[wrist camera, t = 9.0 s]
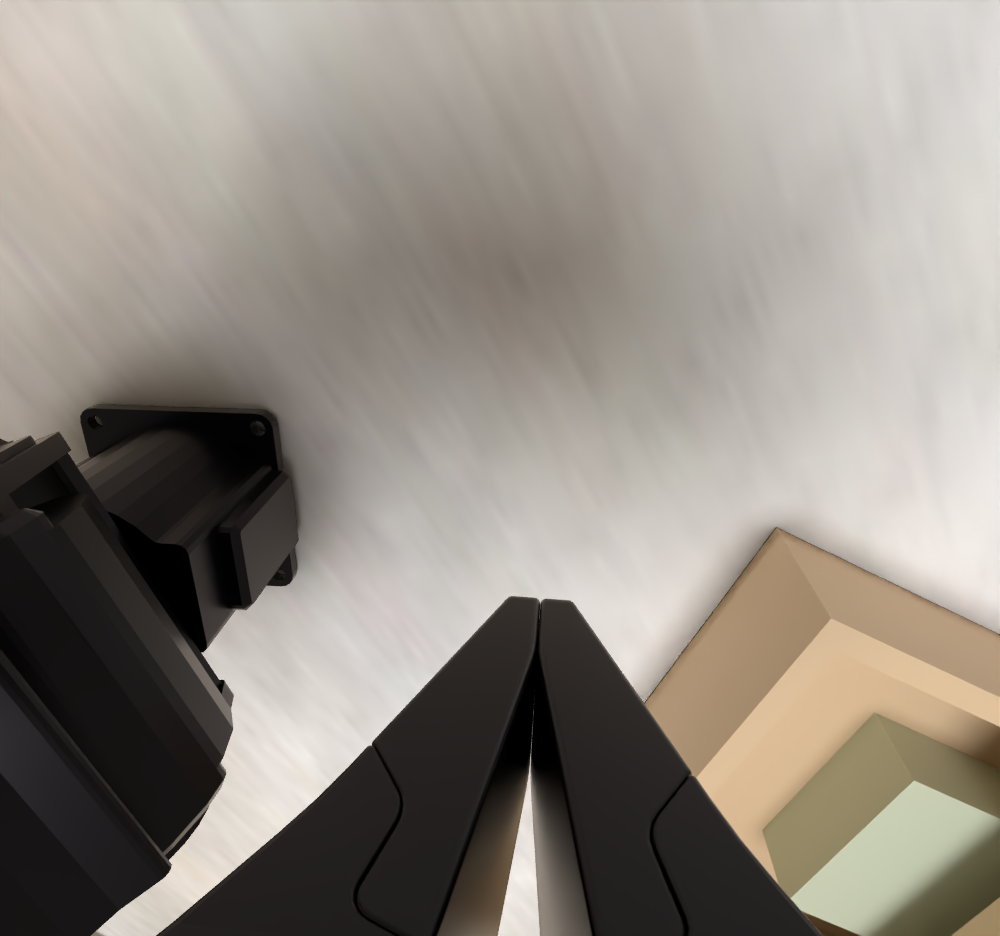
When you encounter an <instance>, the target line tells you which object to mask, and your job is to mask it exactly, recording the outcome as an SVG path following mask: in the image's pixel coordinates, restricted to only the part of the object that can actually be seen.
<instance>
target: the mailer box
mask: <svg viewBox="0 0 1000 936" xmlns="http://www.w3.org/2000/svg"><path fill="white" fill-rule="evenodd" d="M645 706H646V707H647V708H648V710H649V711H650V713H651V714H652V716H653V717H654V718H655V720H656V721H657V723H658V724H659V726H660V727H661V728H662V730H663V731H664V733H665V734H666V736H667V737H668V738H669V740H670V741H671V743H672V744H673V746H674V747H675V748H676V750H677V751H678V753H679V754H680V756H681V757H682V758H683V760H684V761H685V763H686V764H687V766H688V767H689V768H690V770H691V772H692V776H695V777H696V778H697V779H698V781H699V782H700V784H701V785H702V787H703V788H704V790H705V791H706V792H707V794H708V795H709V797H710V798H711V800H712V801H713V802H714V804H715V805H716V806H717V808H718V809H719V810H720V812H721V813H722V815H723V816H724V817H725V819H726V820H727V821H728V823H729V824H730V825H731V827H732V828H733V829H734V831H735V832H736V833H737V835H738V836H739V837H740V839H741V840H742V841H743V842H744V844H745V845H746V846H747V847H748V848H749V850H750V851H751V852H752V853H753V854H754V856H755V857H756V858H757V859H758V860H759V862H760V863H761V864H762V865H763V867H764V868H765V869H766V870H767V871H768V873H769V874H770V875H771V876H772V877H773V879H774V880H775V881H776V882H777V883H778V885H779V886H780V887H781V888H782V889H783V890H784V891H785V893H786V894H787V895H788V896H789V897H790V898H791V899H792V901H793V902H794V903H795V904H796V905H797V906H798V908H799V909H800V910H801V911H802V912H803V913H804V914H805V916H806V917H807V918H808V919H809V920H810V921H811V922H812V924H813V925H814V926H815V927H816V928H817V929H818V930H819V932H820V933H821V934H822V935H823V936H951V935H953V934H954V933H955V932H957V931H958V930H959V929H960V928H962V927H963V926H964V925H965V924H967V923H968V922H969V921H970V920H972V919H973V918H974V917H975V916H977V915H978V914H979V913H980V912H982V911H983V910H984V909H985V908H987V907H988V906H989V905H990V904H992V903H993V902H994V901H996V900H997V899H998V898H999V897H1000V635H999V634H997V633H995V632H993V631H991V630H989V629H986V628H984V627H982V626H980V625H978V624H976V623H974V622H972V621H970V620H968V619H966V618H964V617H961V616H959V615H957V614H955V613H953V612H951V611H949V610H947V609H945V608H943V607H941V606H939V605H936V604H934V603H932V602H930V601H928V600H926V599H924V598H922V597H920V596H918V595H916V594H914V593H911V592H909V591H907V590H905V589H903V588H901V587H899V586H897V585H895V584H893V583H891V582H889V581H886V580H884V579H882V578H880V577H878V576H876V575H874V574H872V573H870V572H868V571H866V570H864V569H861V568H859V567H857V566H855V565H853V564H851V563H849V562H847V561H845V560H843V559H841V558H839V557H836V556H834V555H832V554H830V553H828V552H826V551H824V550H822V549H820V548H818V547H816V546H814V545H811V544H809V543H807V542H805V541H803V540H801V539H799V538H797V537H795V536H793V535H791V534H789V533H786V532H784V531H782V530H780V529H778V528H776V529H775V530H774V531H773V533H772V534H771V535H770V537H769V538H768V539H767V541H766V542H765V543H764V545H763V546H762V547H761V549H760V550H759V551H758V553H757V554H756V555H755V557H754V558H753V559H752V561H751V562H750V563H749V565H748V566H747V567H746V569H745V570H744V571H743V573H742V574H741V575H740V577H739V578H738V579H737V581H736V582H735V583H734V585H733V586H732V587H731V589H730V590H729V592H728V593H727V594H726V596H725V597H724V598H723V600H722V601H721V602H720V604H719V605H718V606H717V608H716V609H715V610H714V612H713V613H712V614H711V616H710V617H709V618H708V620H707V621H706V622H705V624H704V625H703V626H702V628H701V629H700V630H699V632H698V633H697V634H696V636H695V637H694V638H693V640H692V641H691V642H690V644H689V645H688V646H687V648H686V649H685V650H684V652H683V653H682V654H681V656H680V657H679V658H678V660H677V661H676V662H675V664H674V665H673V666H672V668H671V669H670V670H669V672H668V673H667V674H666V676H665V677H664V678H663V680H662V681H661V682H660V684H659V685H658V686H657V688H656V689H655V690H654V692H653V693H652V694H651V696H650V697H649V698H648V700H647V701H646V702H645Z"/></svg>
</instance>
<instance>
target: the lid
mask: <svg viewBox="0 0 1000 936" xmlns="http://www.w3.org/2000/svg"><path fill="white" fill-rule="evenodd" d="M951 936H1000V897H999V898H998V899H997V900H996V901H994V902H993V903H992V904H990V905H989V906H988V907H987V908H985V909H984V910H983V911H982V912H980V913H979V914H978V915H977V916H975V917H974V918H973V919H972V920H970V921H969V922H968V923H967V924H965V925H964V926H963V927H962V928H960V929H959V930H958V931H957V932H955V933H954V934H953V935H951Z"/></svg>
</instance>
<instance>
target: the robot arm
mask: <svg viewBox="0 0 1000 936" xmlns="http://www.w3.org/2000/svg"><path fill="white" fill-rule="evenodd" d="M95 416H97V417H99V418H100V419H101V421H102V423H103V426H102V425H100V424H99V423H97V421H96V419H95ZM80 419H81V426H82V430H83V433H84V437H85V441H86V445H87V449H88V453H89V458H88V459H86V460H84V461H83V462H81V463H79V464H78V465H76V464H75V463H74V461H73V460H72V458H71V457H70V455H69V454H68V452H69V451H71V449H70V447H69V446H68V444H67V443H66V441H65V440H64V438H63V437H62V435H61V434H60V432H56V433H53V434H51V435H48V436H46V437H43V438H41V439H38V440H36V441H34V440H33V438H32V437H31V435H30V436H27V437H25V438H22V439H19V440H17V441H14V442H13V441H10V442H7V441H4V440H2V439H0V936H91V935H92V934H93V933H94V932H95V931H96V930H98V929H99V928H100V927H101V926H102V925H103V924H104V923H105V922H106V921H108V920H109V919H110V918H111V917H112V916H113V915H114V914H115V913H116V912H118V911H119V910H120V909H121V908H123V907H124V906H126V905H127V904H128V903H130V902H131V901H133V900H134V899H135V898H137V897H138V896H139V895H141V894H142V893H144V892H145V891H146V890H148V889H149V888H151V887H152V886H153V885H155V884H156V883H158V882H159V881H160V880H162V879H163V878H164V877H165V876H166V875H167V874H168V873H169V871H170V869H171V865H172V864H171V863H170V862H169V859H170V858H171V857H172V856H173V855H174V854H175V853H176V852H177V851H178V850H179V849H180V848H181V847H182V846H183V845H184V844H185V842H186V841H187V840H188V838H189V837H190V836H191V834H192V833H193V832H194V830H195V829H196V828H197V827H198V825H199V824H200V822H201V820H202V818H203V816H204V815H205V813H206V811H207V809H208V807H209V805H210V803H211V802H212V800H213V799H214V797H215V796H216V794H217V793H218V791H219V790H220V788H221V787H222V784H223V781H224V778H225V776H226V770H225V769H224V767H223V766H222V764H221V763H220V762H221V760H222V759H223V756H224V754H225V751H226V748H227V745H228V742H229V739H230V736H231V734H232V731H233V722H232V713H231V706H232V701H233V697H234V695H233V693H232V692H231V690H230V689H229V687H228V685H227V684H226V682H225V681H224V680H219V679H218V677H217V676H216V674H215V673H214V671H213V670H212V668H211V667H210V665H209V664H208V662H207V661H206V659H205V658H204V656H203V655H202V653H201V652H204V651H205V650H206V649H207V648H208V646H209V645H210V644H211V642H212V641H213V640H214V638H215V637H216V636H217V634H218V633H219V632H220V630H221V629H222V628H223V626H224V625H225V624H226V622H227V621H228V620H229V618H230V617H231V616H232V614H233V613H234V612H235V610H247V609H248V608H249V607H250V606H251V605H252V604H253V603H254V602H255V601H256V599H257V598H258V596H259V595H260V594H261V592H262V591H263V589H264V588H265V587H266V585H267V586H286V585H288V584H289V583H290V582H291V581H292V579H293V578H294V576H295V575H296V572H297V567H296V559H295V552H294V546H295V545H296V543H297V542H298V530H297V522H296V515H295V507H294V499H293V491H292V484H291V477H290V476H289V475H288V474H287V473H286V472H285V471H284V469H283V462H282V454H281V447H280V439H279V432H278V424H277V421H276V419H275V418H274V416H273V415H272V414H271V413H269V412H267V411H265V410H256V409H225V408H194V407H163V406H132V405H101V404H99V405H94V406H92V407H90V408H88V409H86V410H85V411H83V412H82V414H81V416H80ZM255 421H259V422H261V423H263V424H264V426H265V428H266V429H265V431H264V432H263V431H260V430H259V429H258V428H257V427H256V425H255ZM278 568H280V569H282V570H284V571H285V573H286V574H281V573H279V572H278V571H277V570H278ZM539 615H540V618H539ZM534 696H535V697H534ZM533 711H534V714H533ZM532 727H533V731H532ZM531 742H532V748H531ZM530 756H531V796H532V812H533V828H534V844H535V861H536V877H537V893H538V909H539V925H540V936H823V935H822V934H821V933H820V932H819V930H818V929H817V928H816V927H815V926H814V925H813V924H812V922H811V921H810V920H809V919H808V918H807V917H806V916H805V914H804V913H803V912H802V911H801V910H800V909H799V908H798V906H797V905H796V904H795V903H794V902H793V901H792V899H791V898H790V897H789V896H788V895H787V894H786V893H785V891H784V890H783V889H782V888H781V887H780V886H779V885H778V883H777V882H776V881H775V880H774V879H773V877H772V876H771V875H770V874H769V873H768V871H767V870H766V869H765V868H764V867H763V865H762V864H761V863H760V862H759V860H758V859H757V858H756V857H755V856H754V854H753V853H752V852H751V851H750V850H749V848H748V847H747V846H746V845H745V844H744V842H743V841H742V840H741V839H740V837H739V836H738V835H737V833H736V832H735V831H734V829H733V828H732V827H731V825H730V824H729V823H728V821H727V820H726V819H725V817H724V816H723V815H722V813H721V812H720V810H719V809H718V808H717V806H716V805H715V804H714V802H713V801H712V800H711V798H710V797H709V795H708V794H707V792H706V791H705V790H704V788H703V787H702V785H701V784H700V782H699V781H698V779H697V778H696V777H695V776H692V772H691V770H690V768H689V767H688V766H687V764H686V763H685V761H684V760H683V758H682V757H681V756H680V754H679V753H678V751H677V750H676V748H675V747H674V746H673V744H672V743H671V741H670V740H669V738H668V737H667V736H666V734H665V733H664V731H663V730H662V728H661V727H660V726H659V724H658V723H657V721H656V720H655V718H654V717H653V716H652V714H651V713H650V711H649V710H648V708H647V707H646V706H645V704H644V703H643V701H642V700H641V698H640V697H639V696H638V694H637V693H636V691H635V690H634V688H633V687H632V686H631V684H630V683H629V681H628V680H627V678H626V677H625V676H624V674H623V673H622V671H621V670H620V668H619V667H618V666H617V664H616V663H615V661H614V660H613V658H612V657H611V656H610V654H609V653H608V651H607V650H606V649H605V647H604V646H603V644H602V643H601V641H600V640H599V639H598V637H597V636H596V634H595V633H594V631H593V630H592V629H591V627H590V626H589V624H588V623H587V621H586V620H585V619H584V617H583V616H582V614H581V613H580V611H579V610H578V609H577V607H576V606H575V604H574V603H573V602H571V601H569V600H556V599H544V600H542V602H541V604H540V602H539V600H538V599H537V598H529V597H516V596H511V597H509V598H507V599H506V600H505V601H504V602H503V603H502V605H501V606H500V607H499V608H498V609H497V610H496V611H495V612H494V613H493V614H492V615H491V616H490V617H489V618H488V619H487V621H486V622H485V623H484V624H483V625H482V626H481V627H480V628H479V629H478V630H477V631H476V632H475V633H474V634H473V635H472V636H471V638H470V639H469V640H468V641H467V642H466V643H465V644H464V645H463V646H462V647H461V648H460V649H459V650H458V651H457V652H456V654H455V655H454V656H453V657H452V658H451V659H450V660H449V661H448V662H447V663H446V664H445V665H444V666H443V667H442V668H441V669H440V671H439V672H438V673H437V674H436V675H435V676H434V677H433V678H432V679H431V680H430V681H429V682H428V683H427V684H426V685H425V687H424V688H423V689H422V690H421V691H420V692H419V693H418V694H417V695H416V696H415V697H414V698H413V699H412V700H411V701H410V703H409V704H408V705H407V706H406V707H405V708H404V709H403V710H402V711H401V712H400V713H399V714H398V715H397V716H396V717H395V718H394V720H393V721H392V722H391V723H390V724H389V725H388V726H387V727H386V728H385V729H384V730H383V731H382V732H381V733H380V734H379V736H378V737H377V738H376V739H375V740H374V741H373V742H372V746H368V747H367V748H366V749H365V750H364V751H363V752H362V753H361V754H360V755H359V756H358V757H357V759H356V760H355V761H354V762H353V763H352V764H351V765H350V766H349V767H348V768H347V769H346V770H345V771H344V772H343V773H342V774H341V775H340V776H339V777H338V778H337V779H336V780H335V781H334V782H333V783H332V784H331V785H330V786H329V787H328V788H327V789H326V790H325V791H324V792H323V793H322V794H321V795H320V796H319V797H318V798H317V799H316V800H315V801H314V802H312V803H311V804H310V805H309V806H308V807H307V808H306V809H305V810H303V811H302V812H301V813H300V814H299V815H298V816H297V817H296V818H295V819H293V820H292V821H291V822H290V823H289V824H288V825H287V826H286V827H284V828H283V829H282V830H281V831H280V832H279V833H278V834H277V835H275V836H274V837H273V838H272V839H271V840H269V841H268V842H267V843H266V844H265V845H264V846H262V847H261V848H260V849H259V850H258V851H256V852H255V853H254V854H253V855H252V856H251V857H249V858H248V859H247V860H246V861H245V862H244V863H242V864H241V865H240V866H239V867H238V868H236V869H235V870H234V871H233V872H232V873H231V874H229V875H228V876H227V877H226V878H225V879H223V880H222V881H221V882H220V883H219V884H218V885H216V886H215V887H214V888H213V889H212V890H211V891H209V892H208V893H207V894H206V895H205V896H203V897H202V898H201V899H200V900H199V901H198V902H196V903H195V904H194V905H193V906H192V907H190V908H189V909H188V910H187V911H186V912H185V913H183V914H182V915H181V916H180V917H179V918H178V919H176V920H175V921H174V922H173V923H171V924H170V925H169V926H168V927H166V928H165V929H164V930H163V931H161V932H160V933H159V934H158V935H156V936H498V931H499V926H500V920H501V915H502V910H503V905H504V900H505V895H506V890H507V885H508V879H509V874H510V869H511V864H512V859H513V854H514V849H515V844H516V838H517V833H518V828H519V823H520V818H521V813H522V808H523V803H524V797H525V792H526V787H527V781H528V774H529V766H530Z"/></svg>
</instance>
